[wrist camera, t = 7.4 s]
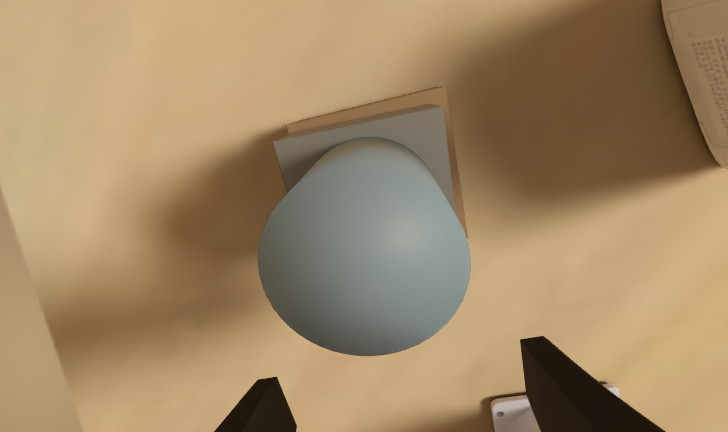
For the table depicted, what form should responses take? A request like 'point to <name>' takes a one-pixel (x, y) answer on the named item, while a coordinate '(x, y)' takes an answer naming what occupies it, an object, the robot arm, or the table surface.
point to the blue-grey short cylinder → (365, 251)
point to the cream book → (703, 64)
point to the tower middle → (404, 126)
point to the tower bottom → (393, 104)
